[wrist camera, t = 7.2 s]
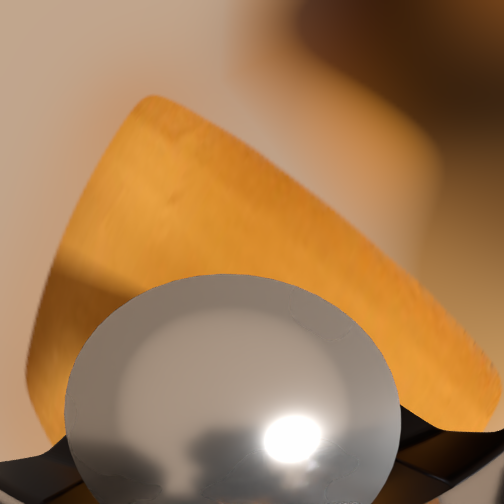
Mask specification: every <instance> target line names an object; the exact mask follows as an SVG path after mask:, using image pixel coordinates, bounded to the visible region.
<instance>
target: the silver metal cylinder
mask: <svg viewBox="0 0 504 504" xmlns="http://www.w3.org/2000/svg"><path fill="white" fill-rule="evenodd" d="M64 416H65V428H66V435H67V440H68V444H69V448H70V452H71V455H72V457H73V460H74V462H75V465H76V467H77V470H78V472H79V473H80V475H81V477H82V479H83V481H84V483H85V484H86V486H87V487H88V489H89V490H90V492H91V493H92V494H93V496H94V497H95V499H96V500H97V501H98V502H99V503H100V504H371V503H372V502H373V501H374V499H375V498H376V497H377V495H378V494H379V492H380V490H381V489H382V487H383V486H384V484H385V482H386V480H387V478H388V476H389V474H390V471H391V469H392V467H393V464H394V461H395V458H396V454H397V451H398V447H399V440H400V432H401V409H400V403H399V397H398V391H397V388H396V385H395V382H394V379H393V376H392V373H391V371H390V369H389V367H388V365H387V363H386V361H385V359H384V357H383V355H382V353H381V352H380V351H379V349H378V348H377V346H376V345H375V344H374V342H373V341H372V339H371V338H370V337H369V336H368V335H367V334H366V333H365V331H364V330H363V329H362V328H361V327H360V326H359V325H358V324H357V323H356V322H355V321H354V320H352V319H351V318H350V317H349V316H347V315H346V314H345V313H344V312H342V311H341V310H340V309H339V308H337V307H336V306H334V305H332V304H331V303H329V302H327V301H326V300H324V299H322V298H321V297H319V296H317V295H315V294H313V293H310V292H308V291H306V290H304V289H301V288H299V287H297V286H294V285H290V284H287V283H284V282H280V281H277V280H274V279H269V278H263V277H257V276H251V275H236V274H215V275H203V276H195V277H190V278H186V279H181V280H176V281H172V282H170V283H167V284H164V285H161V286H158V287H155V288H152V289H150V290H148V291H146V292H144V293H142V294H140V295H138V296H137V297H135V298H133V299H131V300H130V301H128V302H127V303H125V304H124V305H122V306H121V307H119V308H118V309H117V310H115V311H114V312H113V313H112V314H111V315H110V316H108V317H107V318H106V319H105V320H104V321H103V322H102V323H101V324H100V325H99V326H98V327H97V328H96V330H95V331H94V332H93V333H92V335H91V336H90V337H89V338H88V340H87V341H86V343H85V344H84V346H83V348H82V350H81V351H80V353H79V355H78V357H77V358H76V361H75V363H74V366H73V369H72V371H71V374H70V377H69V381H68V386H67V390H66V395H65V411H64Z"/></svg>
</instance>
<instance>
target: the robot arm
mask: <svg viewBox="0 0 504 504" xmlns="http://www.w3.org/2000/svg"><path fill="white" fill-rule="evenodd" d="M400 409H401V432H400V440H399V447H398V451H397V454H396V458H395V461H394V464H393V467H392V469H391V471H390V474H389V476H388V478H387V480H386V482H385V484H384V486H383V487H382V489H381V490H380V492H379V494H378V495H377V497H376V498H375V499H374V501H373V502H372V503H371V504H504V429H502V430H499V431H496V432H458V431H446V430H442V429H439V428H436V427H434V426H433V425H431V424H429V423H428V422H426V421H424V420H423V419H421V418H420V417H418V416H417V415H415V414H414V413H412V412H410V411H409V410H407V409H406V408H405V407H403V406H402V405H400ZM0 504H100V503H99V502H98V501H97V500H96V499H95V497H94V496H93V494H92V493H91V492H90V490H89V489H88V487H87V486H86V484H85V483H84V481H83V479H82V477H81V475H80V473H79V472H78V470H77V467H76V465H75V462H74V460H73V457H72V455H71V452H70V448H69V444H68V440H67V435H65V436H64V437H63V438H62V439H61V440H60V441H59V442H58V443H57V444H55V445H54V446H53V447H52V448H51V449H50V450H49V451H47V452H45V453H44V454H42V455H39V456H34V457H29V458H24V459H18V460H11V461H5V462H0Z"/></svg>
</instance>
